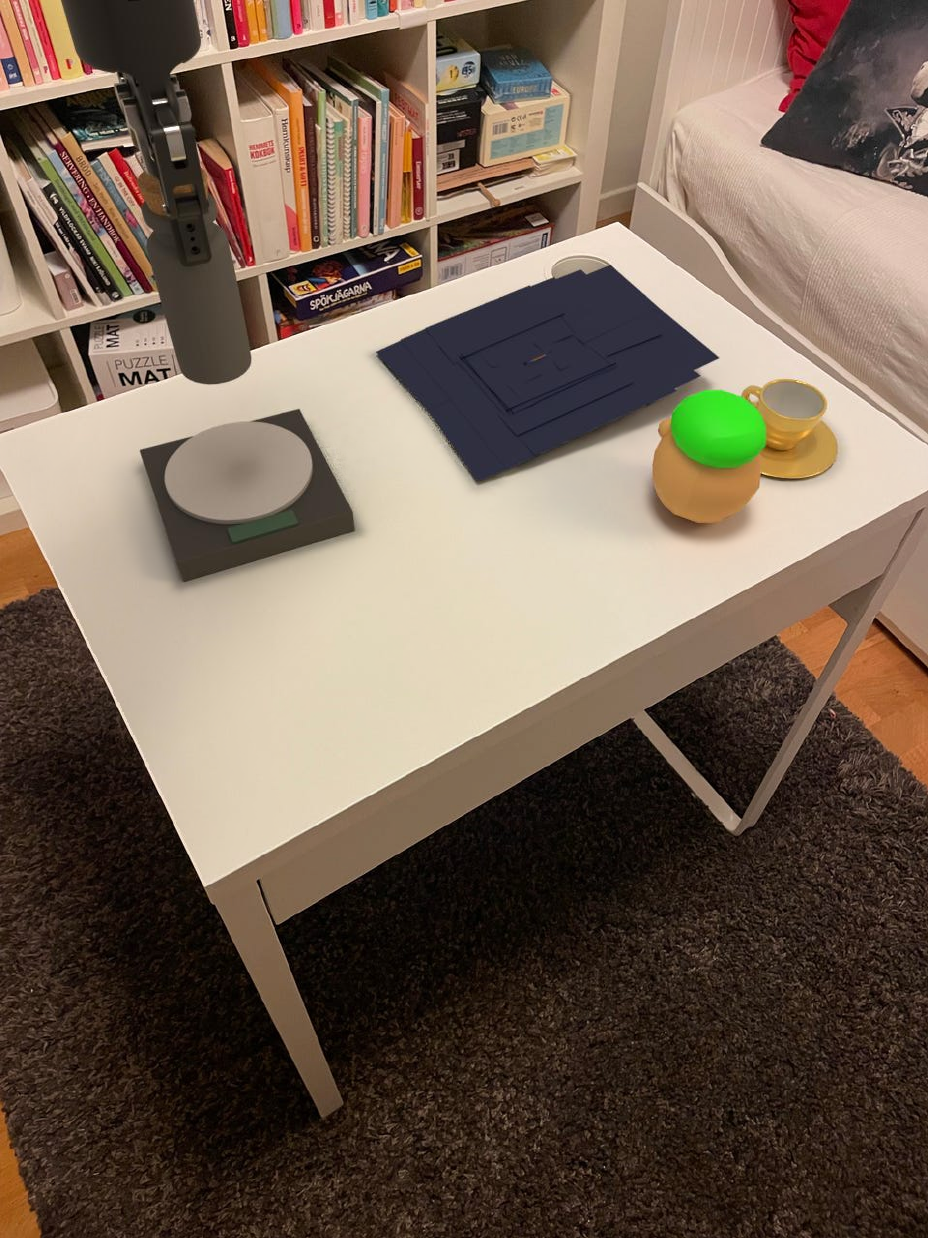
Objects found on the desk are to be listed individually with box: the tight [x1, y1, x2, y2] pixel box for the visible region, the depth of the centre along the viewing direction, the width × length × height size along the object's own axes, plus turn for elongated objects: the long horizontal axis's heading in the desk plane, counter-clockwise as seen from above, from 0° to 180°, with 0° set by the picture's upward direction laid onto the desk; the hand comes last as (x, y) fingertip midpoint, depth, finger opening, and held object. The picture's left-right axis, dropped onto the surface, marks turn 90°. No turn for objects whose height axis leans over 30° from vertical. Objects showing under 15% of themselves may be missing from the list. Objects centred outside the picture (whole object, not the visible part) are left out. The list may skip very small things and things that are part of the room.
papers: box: [375, 264, 720, 482], centre depth 97 cm, size 24×30×4 cm
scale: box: [139, 408, 355, 582], centre depth 84 cm, size 16×16×3 cm
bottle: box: [136, 167, 252, 386], centre depth 67 cm, size 6×6×15 cm
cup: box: [740, 378, 839, 479], centre depth 89 cm, size 12×12×5 cm
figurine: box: [651, 389, 766, 524], centre depth 81 cm, size 11×10×12 cm
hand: (185, 239), depth 64 cm, fingers closed on bottle, 5 cm apart
